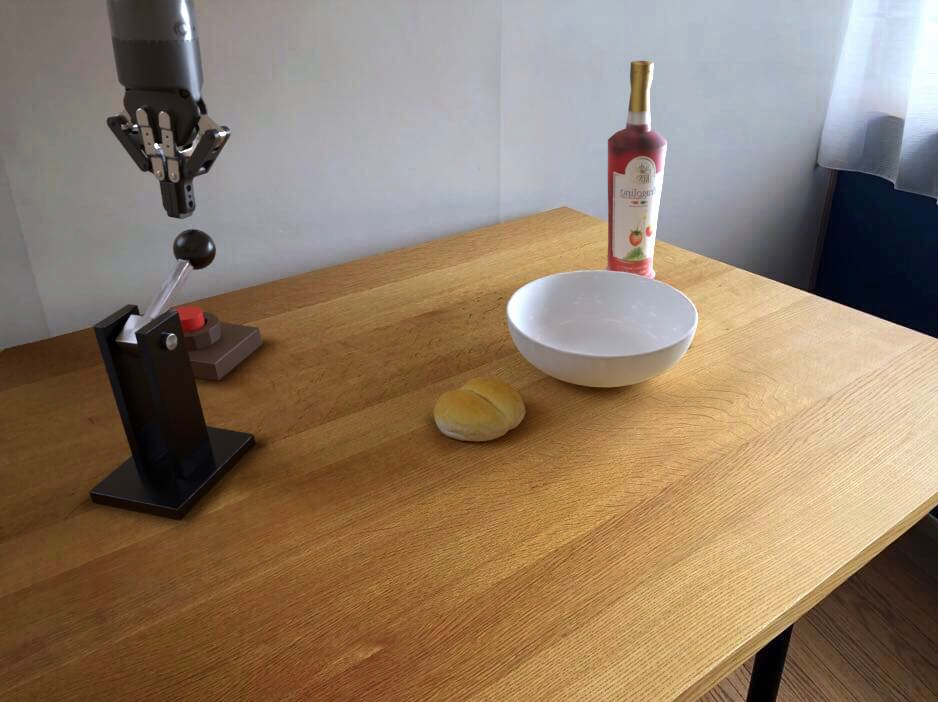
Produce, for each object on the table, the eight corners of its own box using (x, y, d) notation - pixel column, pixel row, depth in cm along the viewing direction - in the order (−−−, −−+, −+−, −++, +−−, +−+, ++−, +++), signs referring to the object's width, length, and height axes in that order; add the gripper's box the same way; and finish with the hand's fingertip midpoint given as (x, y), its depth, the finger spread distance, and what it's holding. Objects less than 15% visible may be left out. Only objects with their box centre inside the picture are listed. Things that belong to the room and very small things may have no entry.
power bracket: (176, 429, 86) (137, 283, 77) (256, 444, 83) (225, 295, 75) (92, 502, 76) (36, 343, 67) (180, 520, 74) (134, 359, 65)
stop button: (164, 331, 96) (161, 317, 95) (184, 318, 99) (181, 304, 98) (192, 336, 95) (189, 321, 94) (211, 321, 98) (208, 308, 97)
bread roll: (419, 423, 87) (416, 389, 85) (485, 391, 92) (484, 358, 90) (472, 457, 82) (470, 421, 80) (539, 421, 87) (540, 387, 85)
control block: (124, 366, 96) (115, 334, 94) (174, 331, 104) (166, 300, 102) (218, 381, 94) (210, 348, 92) (262, 344, 101) (256, 313, 99)
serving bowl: (507, 414, 88) (506, 355, 84) (507, 322, 106) (506, 270, 102) (708, 411, 89) (716, 352, 85) (675, 320, 106) (680, 268, 103)
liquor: (650, 270, 120) (666, 56, 105) (660, 292, 113) (679, 68, 99) (598, 272, 119) (606, 57, 104) (605, 294, 113) (616, 69, 98)
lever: (195, 246, 80) (176, 218, 77) (229, 250, 79) (212, 222, 76) (126, 360, 73) (103, 334, 70) (162, 366, 73) (140, 340, 70)
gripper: (241, 35, 81) (258, 216, 89) (124, 24, 84) (151, 199, 93) (190, 41, 75) (213, 235, 83) (65, 28, 78) (99, 216, 86)
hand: (180, 216), depth 88 cm, fingers closed
